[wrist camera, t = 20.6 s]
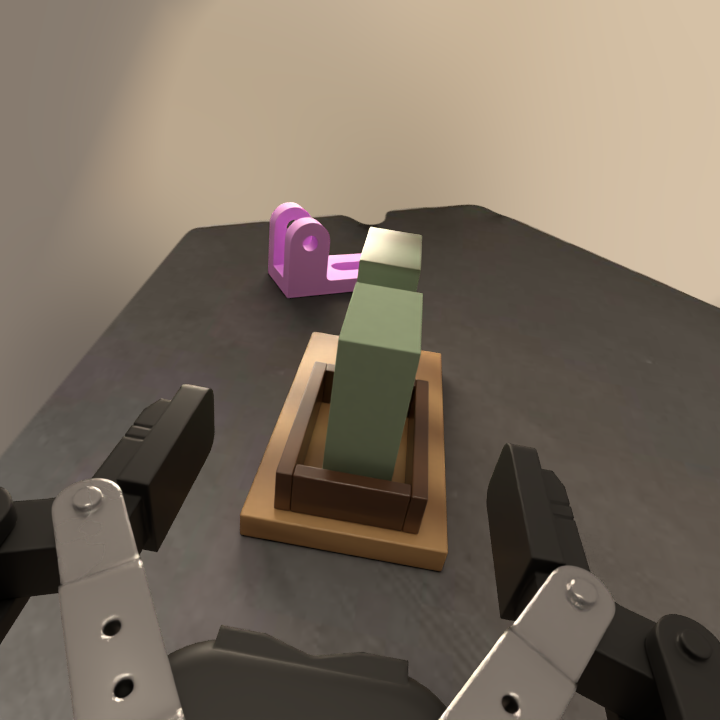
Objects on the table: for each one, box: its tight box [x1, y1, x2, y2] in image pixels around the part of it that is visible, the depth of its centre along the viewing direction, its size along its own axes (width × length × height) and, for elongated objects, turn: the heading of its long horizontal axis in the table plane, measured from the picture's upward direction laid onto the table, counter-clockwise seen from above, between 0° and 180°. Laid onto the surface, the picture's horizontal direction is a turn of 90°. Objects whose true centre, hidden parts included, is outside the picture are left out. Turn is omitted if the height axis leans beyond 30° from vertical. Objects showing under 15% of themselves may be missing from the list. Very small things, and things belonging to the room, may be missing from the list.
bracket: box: [268, 202, 361, 298], centre depth 50 cm, size 13×6×7 cm, turn 117°
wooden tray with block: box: [240, 227, 448, 571], centre depth 30 cm, size 18×10×10 cm, turn 173°
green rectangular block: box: [322, 282, 423, 481], centre depth 26 cm, size 6×4×9 cm, turn 173°
